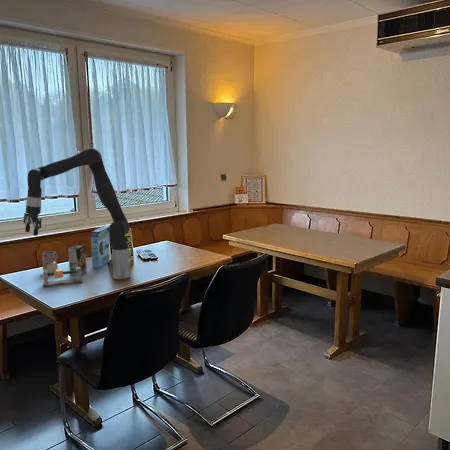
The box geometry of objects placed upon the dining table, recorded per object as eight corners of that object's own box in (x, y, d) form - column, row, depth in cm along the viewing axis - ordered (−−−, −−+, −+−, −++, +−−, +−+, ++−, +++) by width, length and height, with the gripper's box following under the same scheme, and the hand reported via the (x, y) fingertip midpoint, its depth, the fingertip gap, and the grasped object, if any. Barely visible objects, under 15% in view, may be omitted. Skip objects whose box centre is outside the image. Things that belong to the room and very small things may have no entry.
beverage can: (61, 272, 259) (60, 253, 257) (47, 275, 253) (46, 255, 251) (54, 269, 265) (52, 250, 263) (40, 272, 259) (38, 252, 257)
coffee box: (79, 275, 253) (77, 248, 250) (69, 274, 255) (67, 248, 252) (87, 271, 262) (85, 245, 259) (77, 270, 263) (75, 244, 260)
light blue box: (106, 259, 288) (104, 225, 283) (113, 259, 287) (111, 225, 283) (92, 267, 269) (89, 231, 265) (99, 268, 268) (97, 231, 264)
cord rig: (81, 279, 246) (80, 265, 244) (82, 282, 241) (81, 268, 239) (43, 284, 238) (42, 269, 237) (43, 287, 233) (42, 272, 231)
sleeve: (62, 275, 240) (61, 260, 239) (63, 277, 237) (62, 262, 235) (54, 276, 239) (53, 261, 237) (54, 278, 235) (53, 263, 234)
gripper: (47, 207, 239) (44, 236, 241) (33, 202, 247) (31, 230, 249) (34, 207, 233) (31, 237, 235) (20, 202, 241) (18, 231, 244)
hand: (31, 233), depth 242 cm, fingers open, 8 cm apart
